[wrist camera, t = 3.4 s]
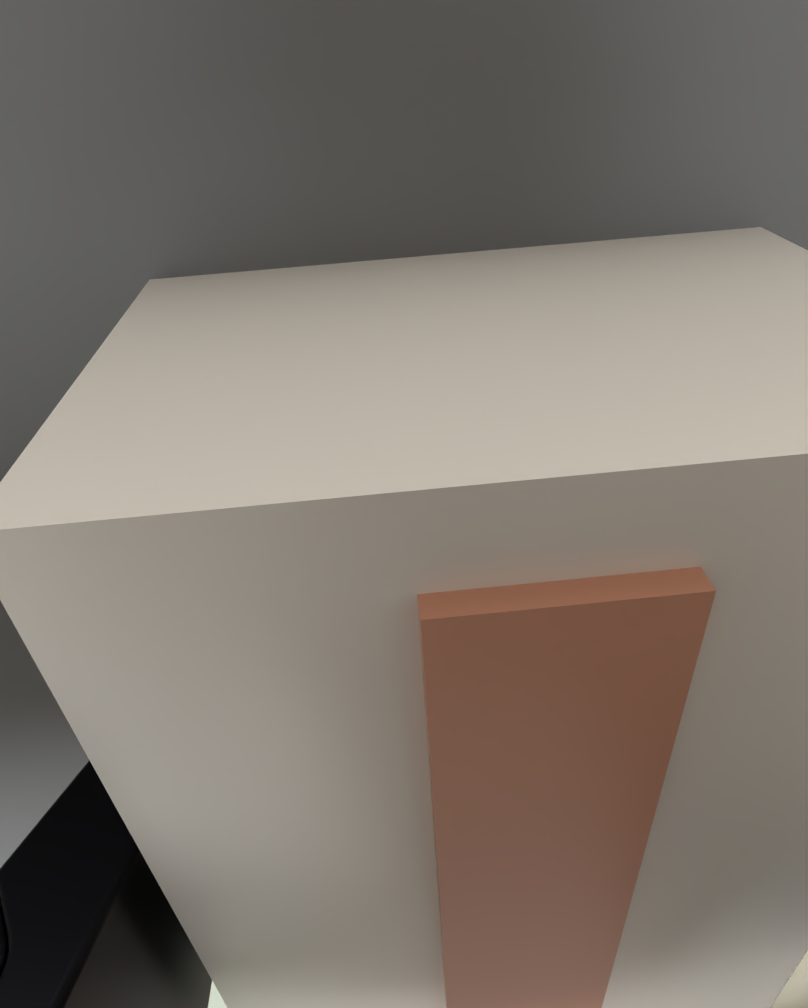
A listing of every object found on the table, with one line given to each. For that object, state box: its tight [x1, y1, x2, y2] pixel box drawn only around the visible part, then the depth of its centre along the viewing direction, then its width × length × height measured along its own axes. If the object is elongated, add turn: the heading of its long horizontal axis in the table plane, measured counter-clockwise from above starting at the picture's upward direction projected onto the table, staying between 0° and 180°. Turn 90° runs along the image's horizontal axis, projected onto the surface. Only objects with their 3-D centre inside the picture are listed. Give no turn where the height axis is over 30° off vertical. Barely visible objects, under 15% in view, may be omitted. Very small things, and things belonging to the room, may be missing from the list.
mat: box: [0, 0, 808, 1008], centre depth 12 cm, size 20×22×1 cm
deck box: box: [0, 227, 808, 1008], centre depth 8 cm, size 6×9×4 cm, turn 4°
